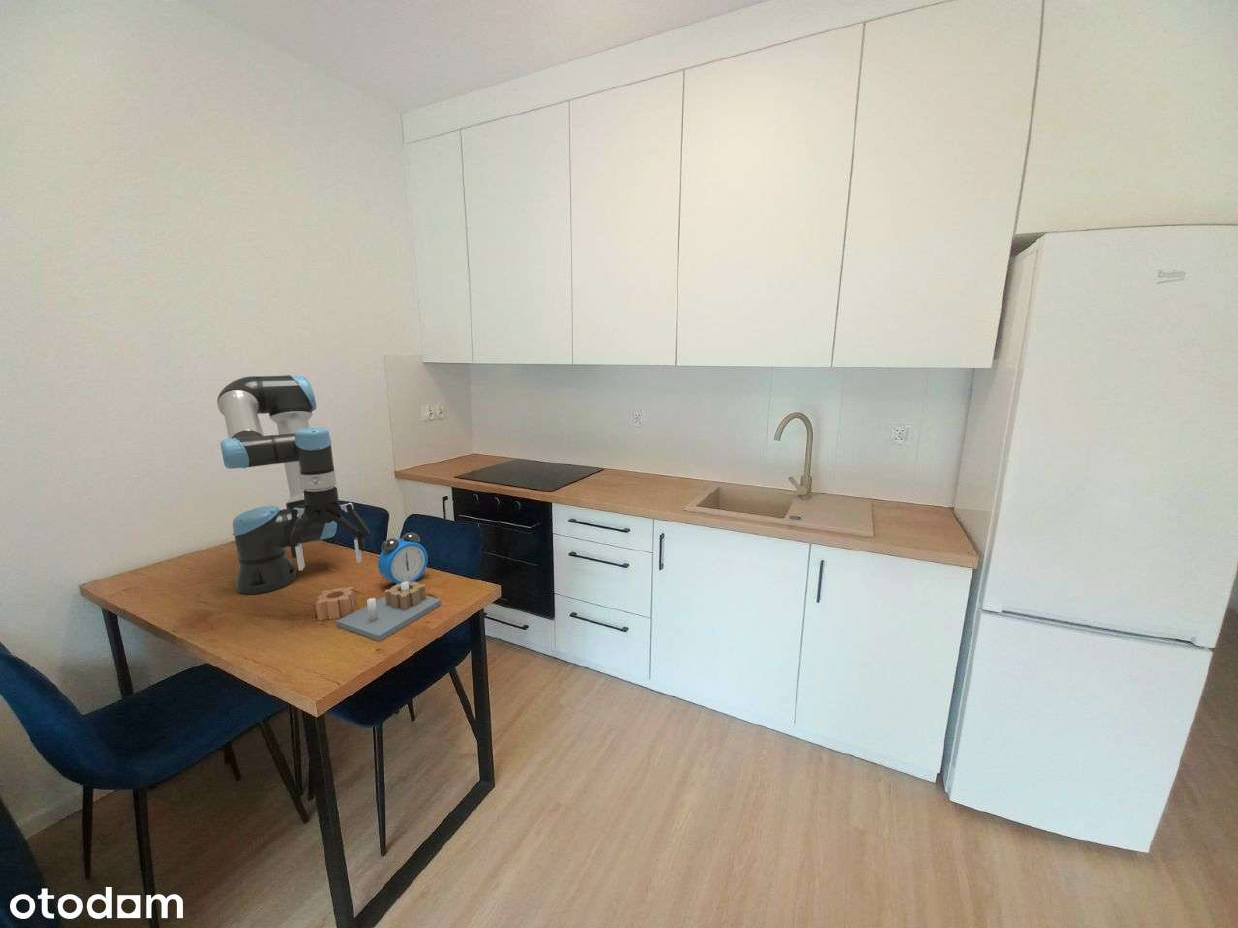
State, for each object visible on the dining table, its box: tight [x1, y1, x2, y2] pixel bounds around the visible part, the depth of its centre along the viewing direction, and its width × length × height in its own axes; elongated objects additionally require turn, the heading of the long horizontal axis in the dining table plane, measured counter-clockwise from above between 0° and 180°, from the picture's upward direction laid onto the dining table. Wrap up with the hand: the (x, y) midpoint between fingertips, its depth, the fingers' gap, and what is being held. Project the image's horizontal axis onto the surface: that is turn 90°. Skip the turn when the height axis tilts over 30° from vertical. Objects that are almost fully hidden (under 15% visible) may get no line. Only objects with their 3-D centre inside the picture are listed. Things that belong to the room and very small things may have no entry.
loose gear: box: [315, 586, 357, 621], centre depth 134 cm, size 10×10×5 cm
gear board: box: [335, 580, 442, 642], centre depth 131 cm, size 16×20×7 cm
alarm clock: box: [377, 531, 429, 585], centre depth 150 cm, size 13×6×15 cm, turn 143°
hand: (331, 564), depth 131 cm, fingers open, 13 cm apart
